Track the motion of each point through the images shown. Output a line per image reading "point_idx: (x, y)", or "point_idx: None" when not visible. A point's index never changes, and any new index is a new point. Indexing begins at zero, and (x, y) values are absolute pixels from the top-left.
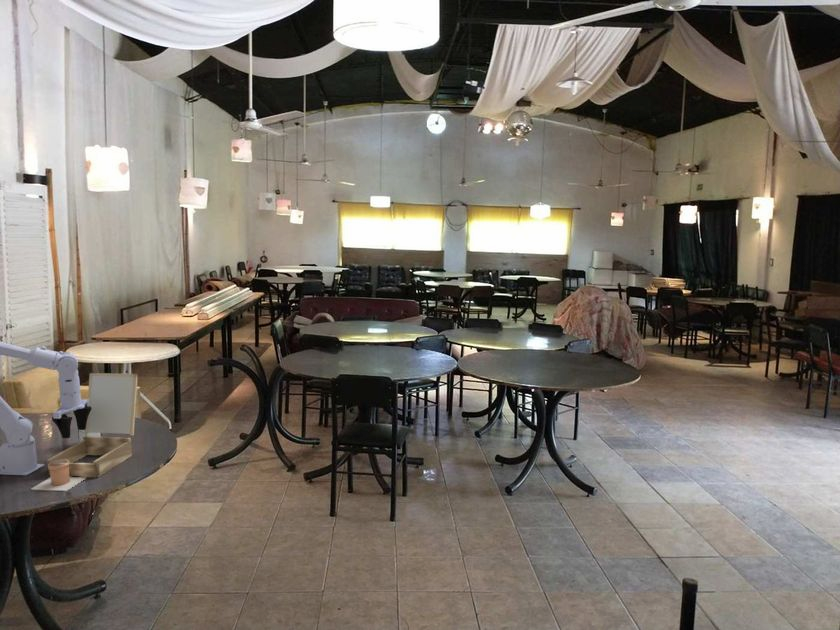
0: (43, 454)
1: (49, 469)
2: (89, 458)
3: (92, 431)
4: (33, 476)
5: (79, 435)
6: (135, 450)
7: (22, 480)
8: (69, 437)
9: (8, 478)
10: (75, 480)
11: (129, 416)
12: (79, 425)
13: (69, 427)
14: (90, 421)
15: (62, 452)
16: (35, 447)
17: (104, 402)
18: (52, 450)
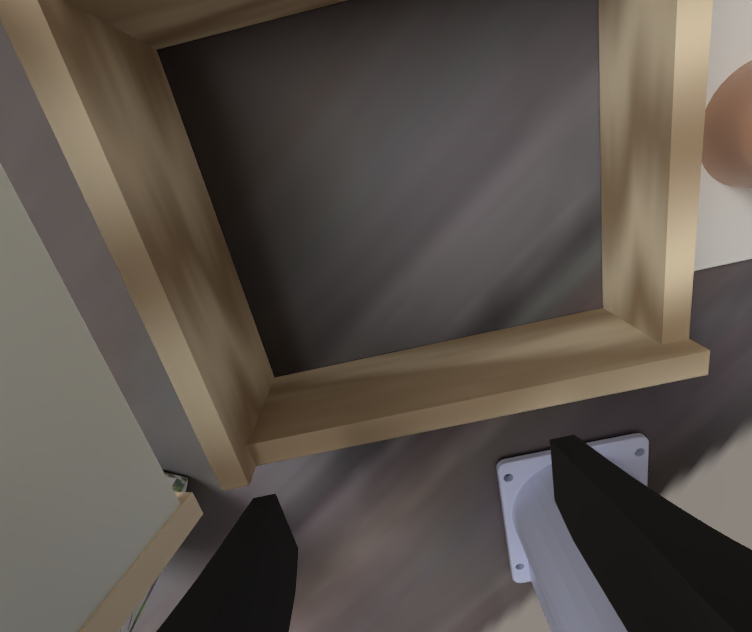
0: (361, 580)
1: None
2: (315, 317)
3: (154, 478)
4: (642, 393)
5: (148, 592)
6: (26, 98)
7: (700, 399)
8: (559, 439)
9: (676, 481)
10: (720, 34)
11: None
12: (281, 592)
13: (680, 539)
14: (78, 607)
15: (540, 394)
16: (588, 588)
17: None
18: (302, 586)
